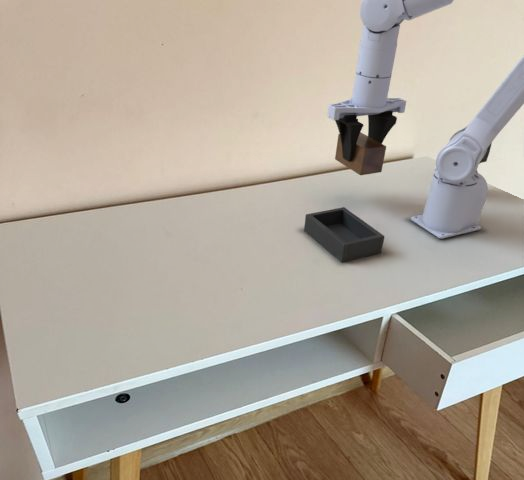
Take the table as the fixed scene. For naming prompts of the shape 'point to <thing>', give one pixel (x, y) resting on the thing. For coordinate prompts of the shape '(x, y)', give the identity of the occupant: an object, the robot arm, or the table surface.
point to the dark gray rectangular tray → (343, 234)
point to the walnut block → (363, 155)
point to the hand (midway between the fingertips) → (359, 157)
